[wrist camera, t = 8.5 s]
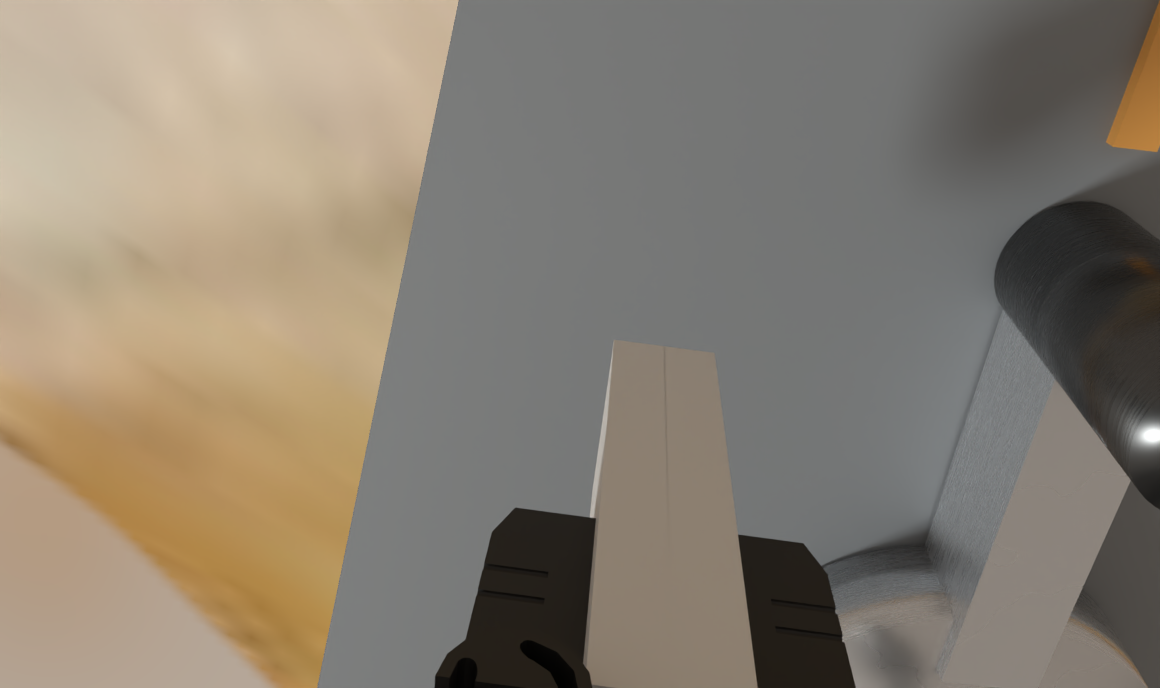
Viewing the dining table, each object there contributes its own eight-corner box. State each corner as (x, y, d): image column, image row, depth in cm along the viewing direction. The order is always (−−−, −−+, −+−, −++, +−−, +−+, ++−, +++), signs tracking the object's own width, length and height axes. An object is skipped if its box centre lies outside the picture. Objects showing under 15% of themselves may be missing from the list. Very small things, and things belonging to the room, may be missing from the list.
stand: (1007, 841, 30) (1033, 914, 28) (331, 670, 28) (306, 734, 26) (1646, 74, 18) (1773, 104, 16) (536, -292, 16) (519, -311, 14)
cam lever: (1048, 838, 26) (1147, 1089, 21) (694, 797, 26) (704, 1034, 21) (1362, 228, 17) (1669, 394, 12) (828, 175, 18) (901, 315, 12)
